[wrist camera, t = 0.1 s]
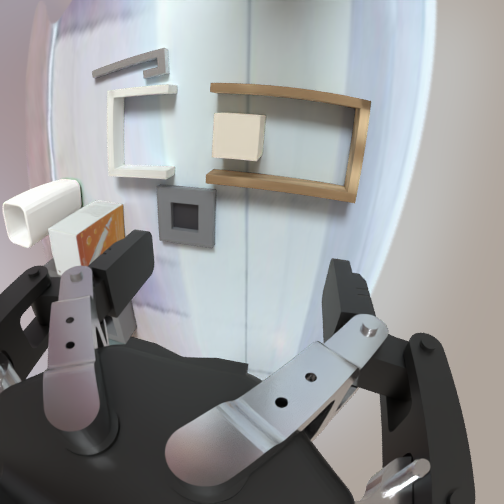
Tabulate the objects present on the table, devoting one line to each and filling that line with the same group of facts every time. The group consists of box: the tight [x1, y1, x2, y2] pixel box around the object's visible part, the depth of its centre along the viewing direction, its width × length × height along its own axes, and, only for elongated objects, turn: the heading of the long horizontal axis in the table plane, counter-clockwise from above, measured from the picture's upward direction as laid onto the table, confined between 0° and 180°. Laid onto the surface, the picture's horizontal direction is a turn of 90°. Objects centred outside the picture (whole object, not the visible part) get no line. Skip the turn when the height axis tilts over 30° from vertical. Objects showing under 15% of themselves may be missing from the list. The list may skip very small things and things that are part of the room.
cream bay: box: [107, 85, 177, 179], centre depth 37 cm, size 13×10×3 cm
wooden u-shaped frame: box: [206, 83, 371, 203], centre depth 35 cm, size 13×20×4 cm
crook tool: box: [92, 48, 169, 79], centre depth 34 cm, size 4×13×1 cm, turn 94°
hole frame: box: [157, 185, 216, 248], centre depth 43 cm, size 9×9×1 cm
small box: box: [48, 200, 125, 276], centre depth 41 cm, size 8×6×13 cm
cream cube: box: [212, 113, 266, 161], centre depth 35 cm, size 6×6×6 cm
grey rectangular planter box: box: [44, 258, 137, 344], centre depth 53 cm, size 15×20×6 cm
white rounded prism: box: [3, 179, 81, 248], centre depth 39 cm, size 7×7×15 cm
